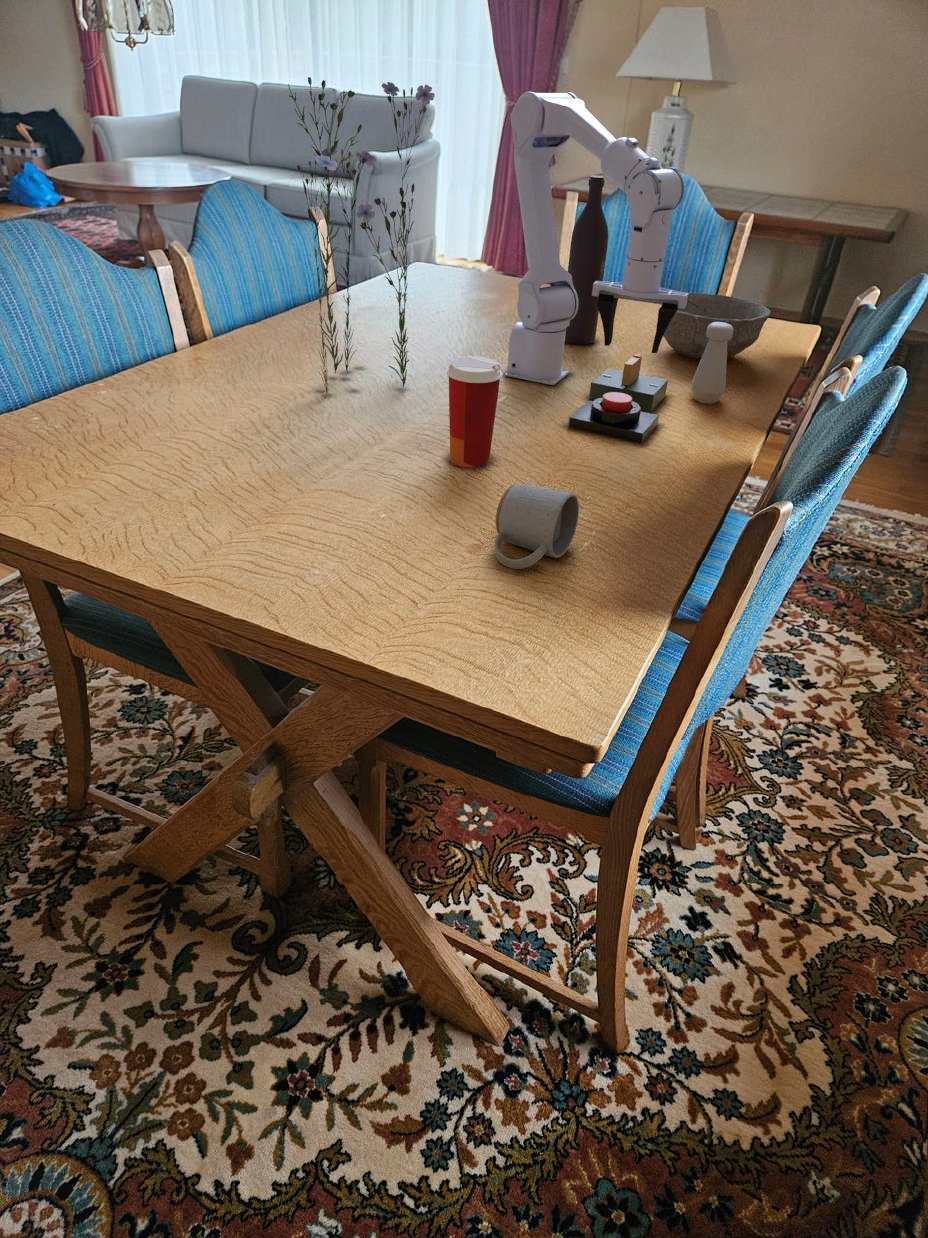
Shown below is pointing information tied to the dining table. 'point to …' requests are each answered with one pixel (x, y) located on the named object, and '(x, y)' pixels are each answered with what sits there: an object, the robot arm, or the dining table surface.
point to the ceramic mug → (535, 522)
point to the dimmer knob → (631, 370)
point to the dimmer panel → (630, 388)
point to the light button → (616, 401)
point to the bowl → (707, 308)
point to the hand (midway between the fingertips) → (631, 347)
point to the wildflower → (360, 213)
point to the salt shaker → (712, 365)
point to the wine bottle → (587, 264)
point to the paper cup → (472, 408)
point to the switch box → (614, 421)
